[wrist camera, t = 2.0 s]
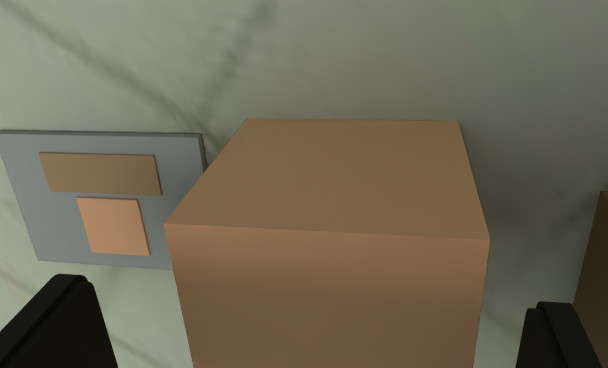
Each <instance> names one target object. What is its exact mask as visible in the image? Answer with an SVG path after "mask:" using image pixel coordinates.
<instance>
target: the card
mask: <svg viewBox="0 0 608 368" xmlns="http://www.w3.org/2000/svg"><path fill="white" fill-rule="evenodd" d="M0 154H1V156H2V159H3V162H4V165H5V168H6V171H7V173H8V176H9V179H10V182H11V185H12V188H13V190H14V193H15V196H16V199H17V202H18V205H19V207H20V210H21V213H22V216H23V219H24V222H25V224H26V227H27V230H28V233H29V236H30V239H31V241H32V244H33V247H34V250H35V253H36V256H37V258H38V261H52V262H67V263H81V264H96V265H110V266H124V267H139V268H153V269H168V270H173V266H172V261H171V256H170V252H169V247H168V242H167V237H166V232H165V228H164V222H165V221H166V220H167V219H168V217H169V216H170V215H171V214H172V212H173V211H174V210H175V209H176V207H177V206H178V205H179V204H180V202H181V201H182V200H183V199H184V197H185V196H186V195H187V194H188V192H189V191H190V190H191V189H192V187H193V186H194V185H195V184H196V182H197V181H198V180H199V178H200V177H201V176H202V175H203V173H204V172H205V171H206V170H207V169H206V162H205V155H204V149H203V142H202V136H201V134H171V133H114V132H57V131H0Z"/></svg>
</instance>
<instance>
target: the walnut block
mask: <svg viewBox="0 0 608 368" xmlns="http://www.w3.org/2000/svg"><path fill="white" fill-rule="evenodd" d="M573 307H574V309H575V311H576V313H577V315H578V317H579V319H580V321H581V323H582V325H583V327H584V329H585V332H586V334H587V336H588V338H589V340H590V342H591V344H592V346H593V348H594V350H595V353H596V355H597V357H598V359H599V361H600V363H601V365H602V367H603V368H608V191H601V192H600V196H599V200H598V205H597V209H596V213H595V217H594V221H593V225H592V229H591V233H590V237H589V241H588V245H587V250H586V254H585V258H584V262H583V266H582V270H581V274H580V278H579V282H578V286H577V290H576V295H575V299H574V303H573Z"/></svg>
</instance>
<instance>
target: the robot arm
mask: <svg viewBox="0 0 608 368" xmlns="http://www.w3.org/2000/svg"><path fill="white" fill-rule="evenodd" d="M0 368H118V365H117V362H116V359H115V355H114V352H113V349H112V345H111V342H110V339H109V335H108V332H107V329H106V325H105V322H104V319H103V315H102V312H101V309H100V305H99V302H98V299H97V295H96V292H95V289H94V286H93V284H92V283H91V282H88V280H87V278H86V277H85V276H82V275H71V274H57V275H55V276H54V277H52V278H51V279H50V280H49V281H48V282H47V283H46V284H45V285H44V287H43V288H42V289H41V290H40V291H39V292H38V293H37V294H36V295H35V296H34V297H33V298H32V299H31V300H30V301H29V302H28V303H27V304H26V305H25V306H24V307H23V308H22V310H21V311H20V312H19V313H18V314H17V315H16V316H15V317H14V318H13V319H12V320H11V321H10V322H9V323H8V324H7V325H6V326H5V327H4V328H3V329H2V330H1V331H0ZM516 368H603V367H602V365H601V363H600V361H599V359H598V357H597V355H596V353H595V350H594V348H593V346H592V344H591V342H590V340H589V338H588V336H587V334H586V332H585V329H584V327H583V325H582V323H581V321H580V319H579V317H578V315H577V313H576V311H575V309H574V307H573V305H572V304H570V303H559V302H538V304H537V306H536V309H533V308H529V309H528V310H527V312H526V316H525V321H524V326H523V332H522V337H521V342H520V347H519V352H518V358H517V363H516Z"/></svg>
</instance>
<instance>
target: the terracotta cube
mask: <svg viewBox="0 0 608 368" xmlns="http://www.w3.org/2000/svg"><path fill="white" fill-rule="evenodd" d="M164 228H165V232H166V237H167V242H168V247H169V252H170V256H171V261H172V266H173V271H174V276H175V280H176V285H177V290H178V295H179V299H180V304H181V309H182V314H183V319H184V323H185V328H186V333H187V338H188V342H189V347H190V352H191V357H192V362H193V366H194V368H473V363H474V356H475V348H476V341H477V334H478V327H479V319H480V312H481V305H482V298H483V291H484V283H485V276H486V269H487V262H488V255H489V247H490V236H489V233H488V229H487V225H486V222H485V218H484V214H483V211H482V207H481V203H480V200H479V196H478V192H477V189H476V185H475V181H474V178H473V174H472V170H471V167H470V163H469V159H468V156H467V152H466V148H465V145H464V141H463V138H462V134H461V130H460V127H459V123H458V121H434V120H340V119H247V120H246V121H245V122H244V123H243V125H242V126H241V127H240V128H239V130H238V131H237V132H236V133H235V135H234V136H233V137H232V138H231V140H230V141H229V142H228V143H227V145H226V146H225V147H224V148H223V150H222V151H221V152H220V153H219V155H218V156H217V157H216V158H215V160H214V161H213V162H212V163H211V165H210V166H209V167H208V168H207V170H206V171H205V172H204V173H203V175H202V176H201V177H200V178H199V180H198V181H197V182H196V184H195V185H194V186H193V187H192V189H191V190H190V191H189V192H188V194H187V195H186V196H185V197H184V199H183V200H182V201H181V202H180V204H179V205H178V206H177V207H176V209H175V210H174V211H173V212H172V214H171V215H170V216H169V217H168V219H167V220H166V221H165V222H164Z"/></svg>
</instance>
